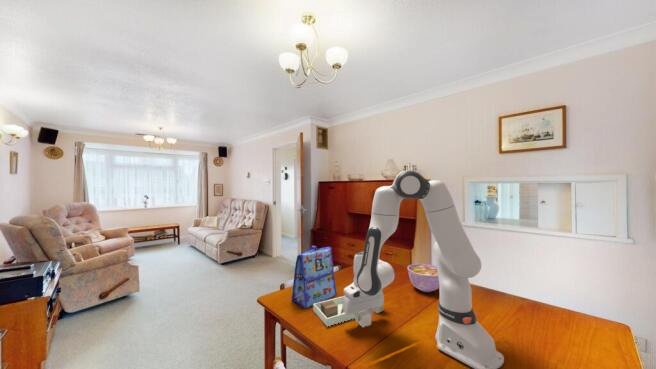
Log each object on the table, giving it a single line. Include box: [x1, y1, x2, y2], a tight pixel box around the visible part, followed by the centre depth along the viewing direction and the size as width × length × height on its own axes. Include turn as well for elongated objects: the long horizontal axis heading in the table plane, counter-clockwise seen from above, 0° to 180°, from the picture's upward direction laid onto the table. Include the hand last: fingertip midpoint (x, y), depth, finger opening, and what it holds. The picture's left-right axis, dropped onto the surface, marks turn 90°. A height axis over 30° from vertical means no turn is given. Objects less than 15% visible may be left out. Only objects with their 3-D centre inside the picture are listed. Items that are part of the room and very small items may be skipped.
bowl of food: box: [407, 263, 439, 293], centre depth 141 cm, size 20×20×12 cm
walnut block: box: [321, 299, 338, 318], centre depth 113 cm, size 6×6×5 cm
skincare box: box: [373, 291, 384, 314], centre depth 119 cm, size 6×4×12 cm
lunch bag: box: [291, 245, 338, 309], centre depth 131 cm, size 22×14×29 cm, turn 131°
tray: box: [312, 295, 355, 328], centre depth 116 cm, size 15×20×4 cm
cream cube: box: [357, 310, 372, 328], centre depth 107 cm, size 4×4×5 cm
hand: (363, 318), depth 107 cm, fingers open, 5 cm apart
